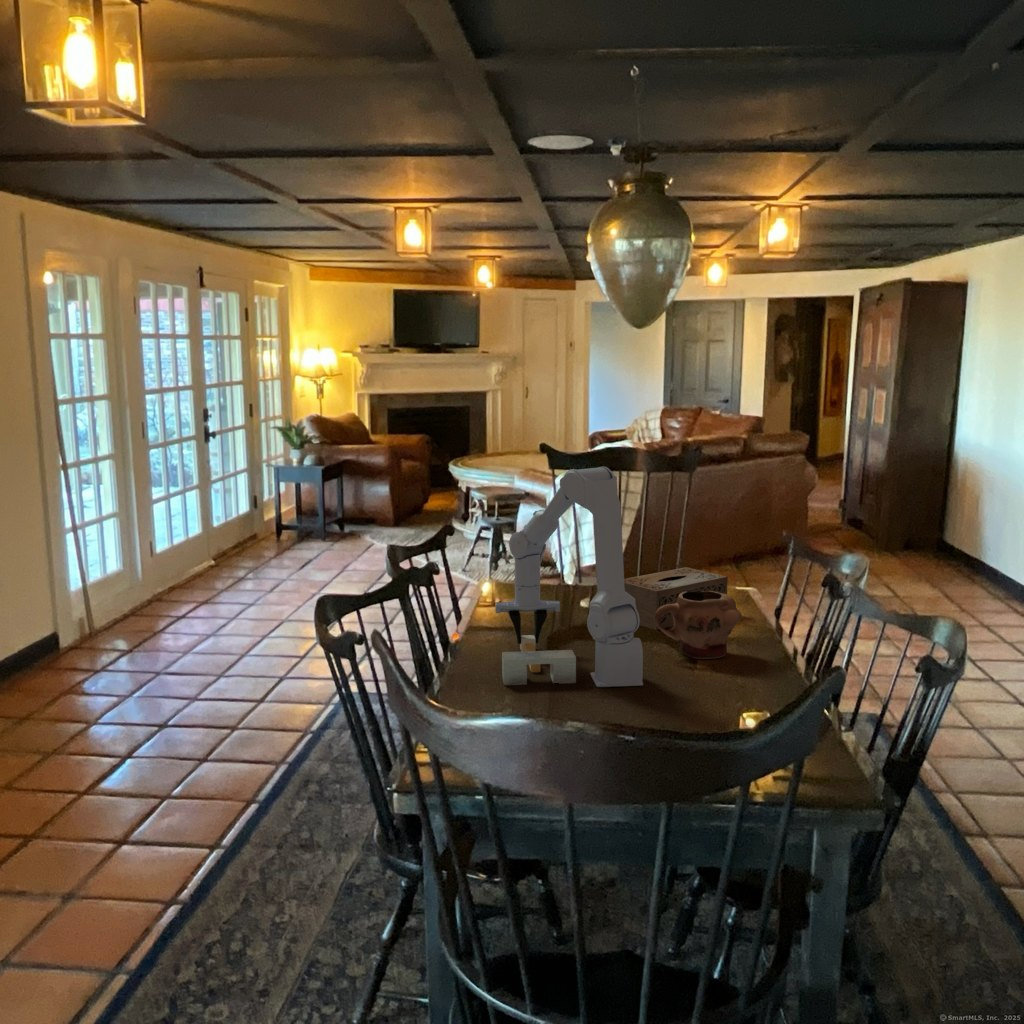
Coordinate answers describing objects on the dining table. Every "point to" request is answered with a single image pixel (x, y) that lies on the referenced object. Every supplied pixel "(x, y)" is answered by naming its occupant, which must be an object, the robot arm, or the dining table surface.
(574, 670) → the block
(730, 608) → the ceramic mug
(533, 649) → the wooden stick
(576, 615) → the dining table surface
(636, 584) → the tissue box cover
